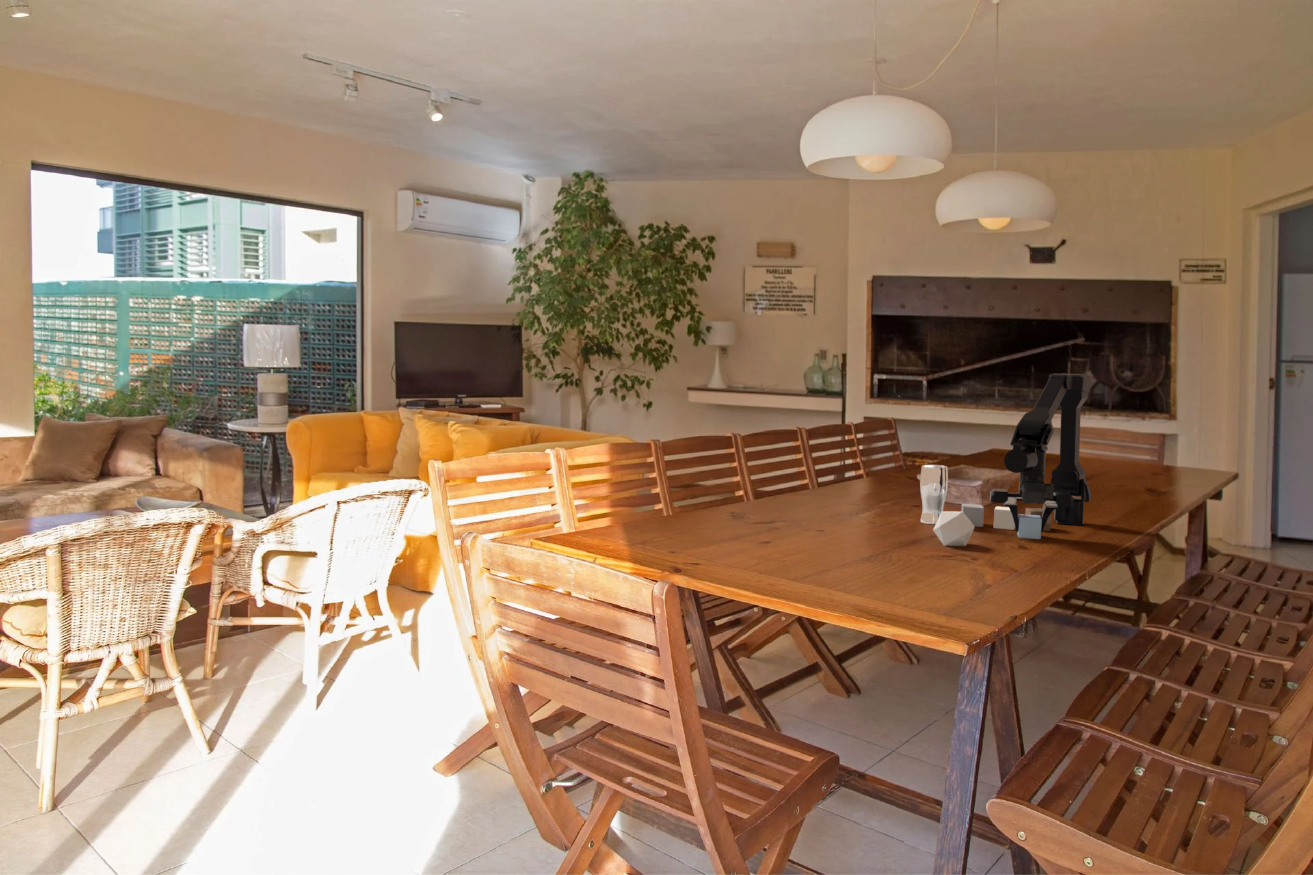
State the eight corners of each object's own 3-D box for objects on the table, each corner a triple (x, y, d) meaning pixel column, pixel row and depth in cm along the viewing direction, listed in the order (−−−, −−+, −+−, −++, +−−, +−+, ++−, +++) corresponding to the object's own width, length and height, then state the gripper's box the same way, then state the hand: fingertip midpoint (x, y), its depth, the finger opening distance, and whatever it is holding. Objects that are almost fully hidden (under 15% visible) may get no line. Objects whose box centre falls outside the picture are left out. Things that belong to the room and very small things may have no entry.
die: (966, 553, 217) (985, 517, 219) (933, 533, 218) (952, 498, 220) (954, 558, 224) (973, 524, 227) (922, 538, 226) (941, 505, 228)
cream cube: (1015, 526, 247) (1016, 507, 246) (1014, 530, 242) (1015, 510, 242) (995, 525, 249) (996, 506, 248) (993, 528, 244) (994, 509, 244)
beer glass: (949, 525, 247) (951, 468, 246) (922, 524, 247) (924, 467, 246) (941, 520, 254) (944, 464, 253) (915, 519, 254) (917, 464, 253)
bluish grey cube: (1038, 535, 235) (1039, 515, 235) (1040, 539, 230) (1041, 518, 230) (1017, 533, 237) (1018, 514, 236) (1018, 537, 232) (1019, 517, 231)
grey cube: (980, 523, 251) (981, 504, 250) (983, 527, 246) (984, 508, 245) (960, 522, 252) (961, 504, 251) (962, 526, 247) (963, 507, 246)
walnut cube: (1044, 527, 246) (1045, 508, 246) (1050, 531, 241) (1051, 511, 241) (1024, 526, 247) (1025, 507, 246) (1029, 530, 242) (1030, 511, 241)
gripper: (993, 471, 227) (990, 535, 228) (1078, 475, 222) (1074, 541, 223) (991, 466, 238) (988, 527, 239) (1071, 469, 232) (1068, 532, 234)
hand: (1028, 532), depth 233 cm, fingers closed on bluish grey cube, 5 cm apart
